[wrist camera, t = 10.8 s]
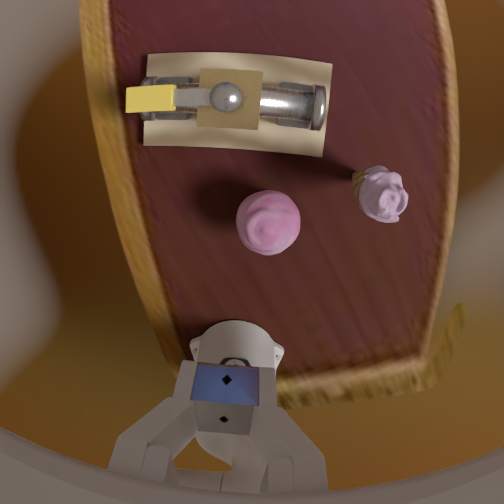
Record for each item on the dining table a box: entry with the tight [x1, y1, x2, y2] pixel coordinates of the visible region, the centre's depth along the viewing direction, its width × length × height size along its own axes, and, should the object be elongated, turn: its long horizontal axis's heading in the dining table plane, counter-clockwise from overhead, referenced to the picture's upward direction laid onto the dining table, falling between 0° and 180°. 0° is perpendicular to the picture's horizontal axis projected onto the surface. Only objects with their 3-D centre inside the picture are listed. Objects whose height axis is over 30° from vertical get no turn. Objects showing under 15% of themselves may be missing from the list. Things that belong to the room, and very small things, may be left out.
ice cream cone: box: [352, 166, 408, 223], centre depth 38 cm, size 7×6×15 cm
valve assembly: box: [139, 52, 332, 157], centre depth 35 cm, size 14×26×12 cm, turn 85°
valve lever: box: [126, 82, 243, 113], centre depth 29 cm, size 12×3×2 cm, turn 87°
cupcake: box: [236, 190, 300, 255], centre depth 44 cm, size 9×9×10 cm
